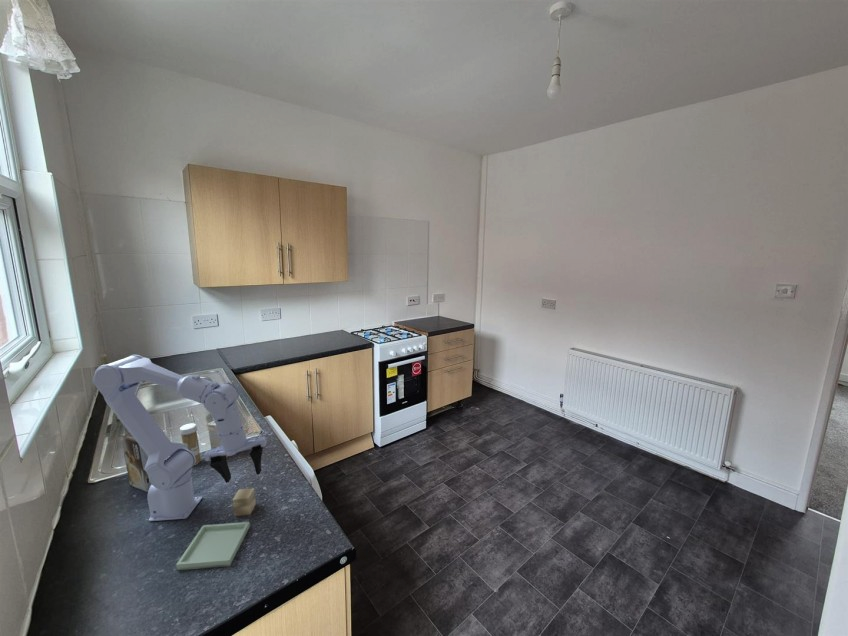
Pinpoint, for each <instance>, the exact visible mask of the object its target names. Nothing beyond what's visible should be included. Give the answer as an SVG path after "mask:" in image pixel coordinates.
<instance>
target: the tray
mask: <svg viewBox="0 0 848 636" xmlns="http://www.w3.org/2000/svg"><path fill="white" fill-rule="evenodd" d="M250 524H251V523H250V521H242V522H231V523H230V522H229V523H219V524H218V523H217V524H203V525H202V526H201V528H200V529H199V530H198V531H197V533H196V535H195V537H193V539H192V541H191V542H190V544H189V545H188V546H187V548H186V550H185V551H184V553H183V554H182V555H181V557H180V558H179V560H178V561H177V563H176V564H175V567H176V570H177V571H186V570H187V571H189V570H197V569H198V570H199V569H209V568H219V567H221V568H222V567H230V566H231V565H232V563H233V561H234V559H235V557H236V556H237V553H238V551H239V549H240V547H241V546H242V544H243V541H244V540H245V538H246V535H248V534H247V533H248V531H249V530H250V528H251V525H250Z"/></svg>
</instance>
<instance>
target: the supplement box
mask: <svg viewBox="0 0 848 636" xmlns="http://www.w3.org/2000/svg"><path fill="white" fill-rule="evenodd" d="M207 429H208V435H209V442H210V450H212V449H215V448H217V447H220V446H222V444H221V441H220V438H219V434H218V430H217V427H216V424H215V420H214V419H213V420H212V421H210V422H208V423H207ZM226 457H227V455H226ZM227 458H228V457H227Z"/></svg>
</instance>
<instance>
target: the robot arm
mask: <svg viewBox="0 0 848 636" xmlns="http://www.w3.org/2000/svg"><path fill="white" fill-rule="evenodd" d="M142 382H147V383H151V384H154V385H159V386H162V387H166V388H169V389H173V390H176V391H177V394H178V396H179V397H182V398H185V399H187V400H190V401H192V402H195V403H199V404H202V405H203V406H204V409H205V410H206V411H207V412H209V413H210V414H211V419H213V421H214V420H215V424H216V427H217V430H218V434H219V438H220V441H221V444H222V446H220V447H217V448H215V449H212V450H211V449H209V450H206V451H205V453H204V454H203V456H204V460H205V462H208V461H210V463H209V467H210V468H212V469H213V470H215V471H216V472H217V473H218V474H219V475H220V477H222V479H223V480H224V482H225V484H228V483H230V481H231V479H232V476H231V474H232V473H231V472H230V468H229V464H228V459H227V458H228V457H226V455H227V456H229V457H231V456H235V455H236V454H237V453H239V452H244V451H247V450H250V452H249V456H250V459H251V460H252V462H253V466H254V469H255V474H256V475H260V474H261V471H262V455H263V449H264V447H266V445H267V438H266V436H262V437H260V436H259V437H254V438H253V437H252V438H251V437H250V438H247V435H246V433H245V428H244V424H243V421H242V417H241V415H240V409H239V407H238V404H237V403H238V402H237V401H238V399H239V397H240V392H239V390H238V388H237V386H236V385H234V384H232V383H231V382H229V381H228V382H222V383H219V382H217V381H211V380H210V379H206V378H203V377H201V375H199V374H197V373H196V374H188V375H186V376H184V375H182V374H181V375H180V374H179V373H176V372H173V371H172V370H168V369H166V368H165V367H162V366H160V365H158V364H155V363H153V362H152V361H151V359H150V358H148V357H144V356H142V355H139V354H131V355H128V356H127V357H124V358H122V359H118V360H116V361H113V362H110V363H107V364H102V365H100V366H98V367H97V368H96V370H95V371H94V374H93V377H92V384H93V385H94V386H95V387H96V388H97V390H98V391H99V393H100V394H101V395H102V396H103V399H104V401H105V403H106V405H107V406H108V407H109V409H111V411H112V412H113V413H114V415H115V416H116V417H117V418H118V419H119V421H120V422H121V424H122V425H123V426H124V427H125V429H126V430H127V431H128V433H130V434H131V435H132V436H133V438H134V439H135V440H136V441H137V443H138V444H139V445H140V447H141V448H142V449H143V450H144V452H145V453H146V454H147V456H148V460H147V463H146V466H145V469H144V470H145V471H146V472H147V474H148V476H149V481H150V483H151V484H152V485H151V486H150V488H149V491H148V492H147V504H148V510H149V515H150V516H149V519H148V522H156V521H157V522H158V521H172V520H182V519H183V520H185V519H188V517H190V515H191V513H192V512H193V511H194V509H196V507H197V506H198V504H199V503H200V502H201V500H202V499H203V497H202V496H195V492H194V485H193V479H192V472H193V467H195V466H194V464H195V462H196V458H195V455H194V454H193V452H192V451H190V450H188V449H187V448H185V447H184V446H183V444H182V442H172V441H171V440H170V438H168V436H167V435H166V433H165V432H164V430H162V428H161V427H160V426H159V424H158V423H157V422H156V420H155V419H154V418H153V416H152V415H151V414H150V412H149V411H148V410H147V409H146V407H145V405H144V404H143V403H142V402H141V400H140V399H139V398H138V396H137V395H136V393H137V390H138V388H139V386H140V384H141V383H142ZM164 460H165V461H164Z"/></svg>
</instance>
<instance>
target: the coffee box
mask: <svg viewBox="0 0 848 636" xmlns="http://www.w3.org/2000/svg"><path fill="white" fill-rule="evenodd" d="M120 440H121V445H122V452H123V455H124V457H123V458H124V461H125V466H126V473H127V477H128V482H129V486H131V485H132V487H134V488H136V489H139V490H141V491H144V492H146V493H148V491H149V488H150V486H151V485H152V484H151V483H150V481H149V476H148V474H147V472H146V471H145V470H144V469H145V466H146V463H147V460H148V456H147V454H146V453H145V452H144V450H143V449H142V448H141V447H140V445H139V444H138V443H137V441H136V440H135V439H134V438H133V436H132V435H131V434H130V432H127V433H126V434H124V435H122V436H120ZM165 460H166V459H165ZM165 460H164V461H165Z"/></svg>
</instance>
